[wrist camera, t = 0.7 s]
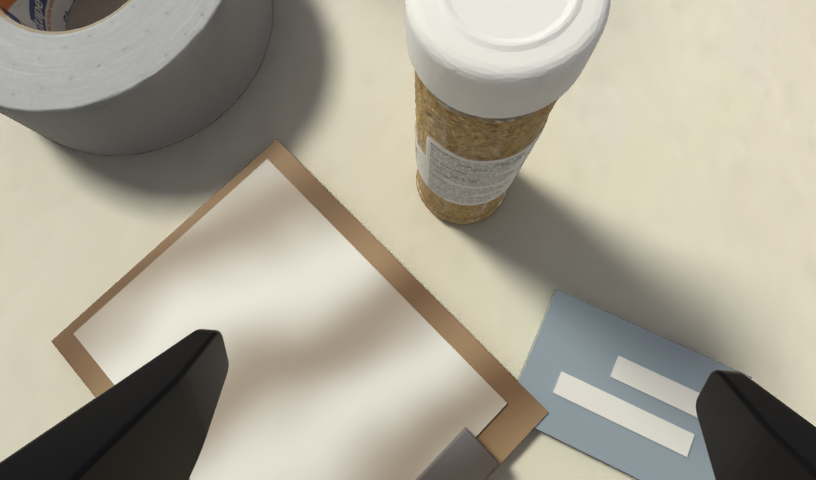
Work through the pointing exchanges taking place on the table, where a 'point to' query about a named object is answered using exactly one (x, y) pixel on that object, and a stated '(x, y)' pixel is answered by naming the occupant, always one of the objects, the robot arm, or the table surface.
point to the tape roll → (128, 69)
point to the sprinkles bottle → (489, 90)
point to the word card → (619, 391)
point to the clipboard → (307, 343)
